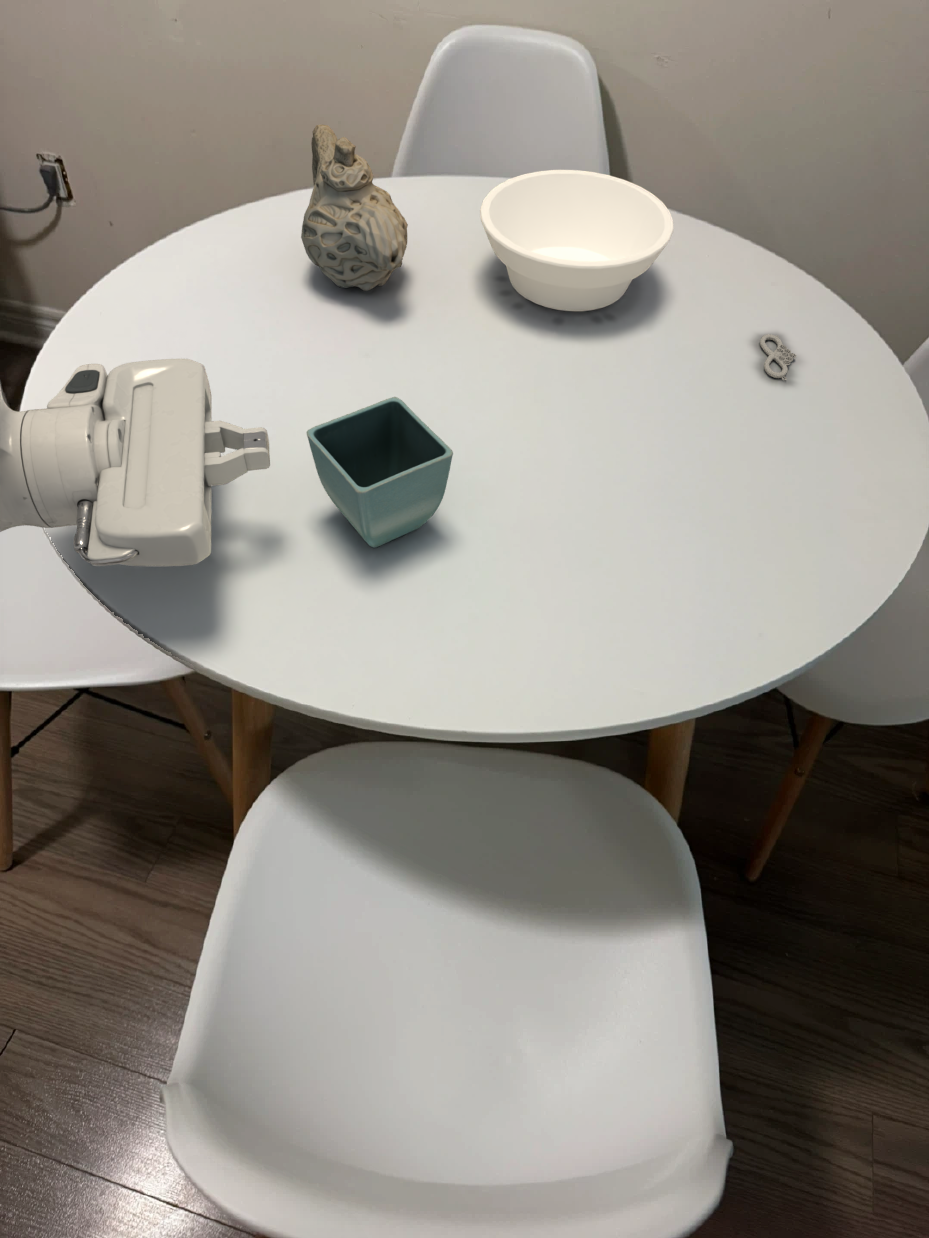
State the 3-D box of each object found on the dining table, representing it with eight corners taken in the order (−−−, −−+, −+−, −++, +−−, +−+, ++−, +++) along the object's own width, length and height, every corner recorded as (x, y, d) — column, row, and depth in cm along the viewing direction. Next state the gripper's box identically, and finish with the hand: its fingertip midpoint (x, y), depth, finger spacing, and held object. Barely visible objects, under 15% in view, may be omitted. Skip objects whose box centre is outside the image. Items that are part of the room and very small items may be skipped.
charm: (759, 330, 96) (792, 333, 95) (758, 334, 96) (790, 337, 96) (767, 374, 91) (801, 378, 91) (765, 379, 91) (799, 382, 91)
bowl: (451, 251, 105) (453, 181, 99) (610, 226, 110) (621, 159, 103) (516, 351, 93) (523, 280, 86) (691, 319, 98) (710, 249, 91)
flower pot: (399, 473, 81) (396, 393, 74) (453, 531, 76) (456, 452, 69) (314, 510, 77) (303, 429, 70) (366, 573, 73) (359, 494, 66)
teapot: (440, 311, 97) (441, 172, 85) (342, 335, 94) (329, 194, 82) (366, 221, 109) (359, 88, 97) (277, 240, 105) (258, 104, 94)
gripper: (54, 535, 58) (267, 512, 59) (82, 351, 70) (258, 337, 72) (85, 596, 63) (280, 573, 64) (106, 414, 75) (269, 399, 77)
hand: (268, 447), depth 68 cm, fingers closed
